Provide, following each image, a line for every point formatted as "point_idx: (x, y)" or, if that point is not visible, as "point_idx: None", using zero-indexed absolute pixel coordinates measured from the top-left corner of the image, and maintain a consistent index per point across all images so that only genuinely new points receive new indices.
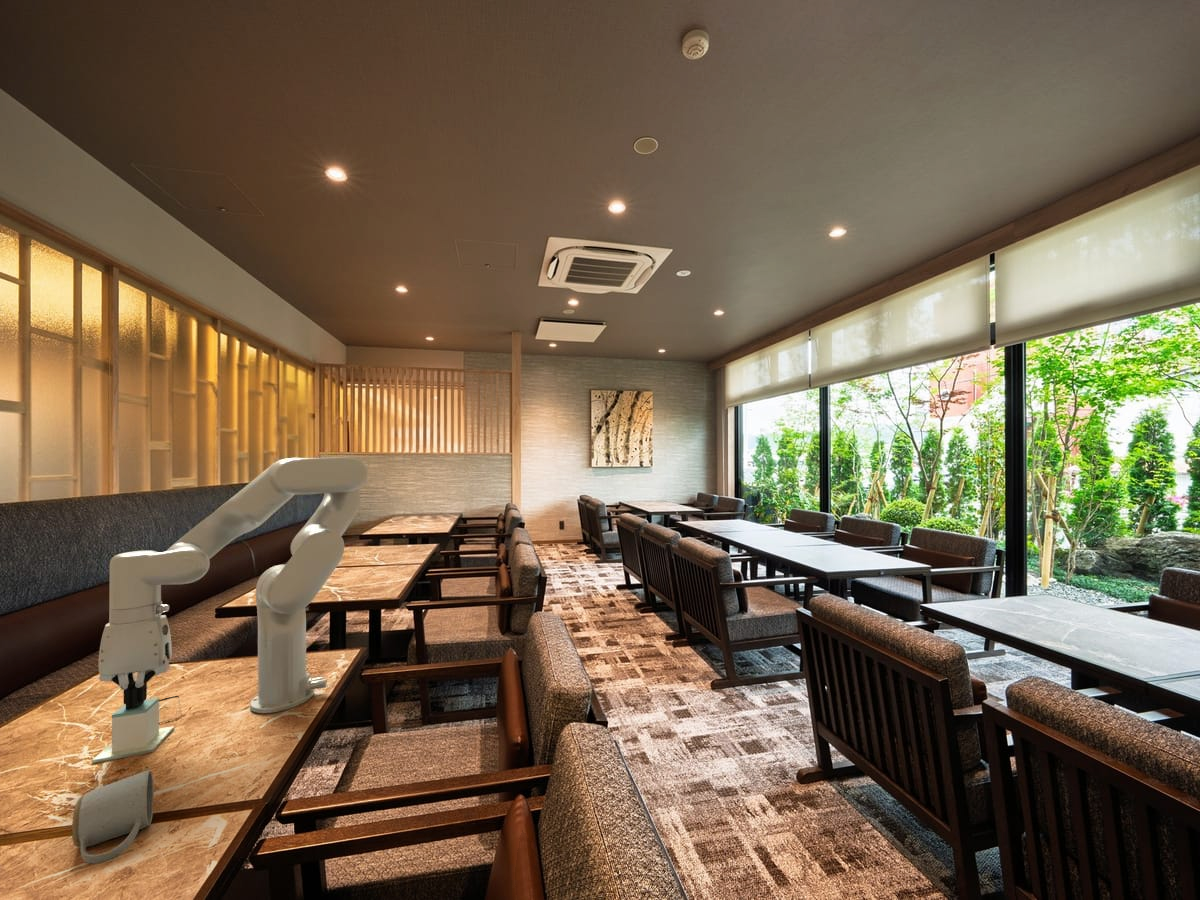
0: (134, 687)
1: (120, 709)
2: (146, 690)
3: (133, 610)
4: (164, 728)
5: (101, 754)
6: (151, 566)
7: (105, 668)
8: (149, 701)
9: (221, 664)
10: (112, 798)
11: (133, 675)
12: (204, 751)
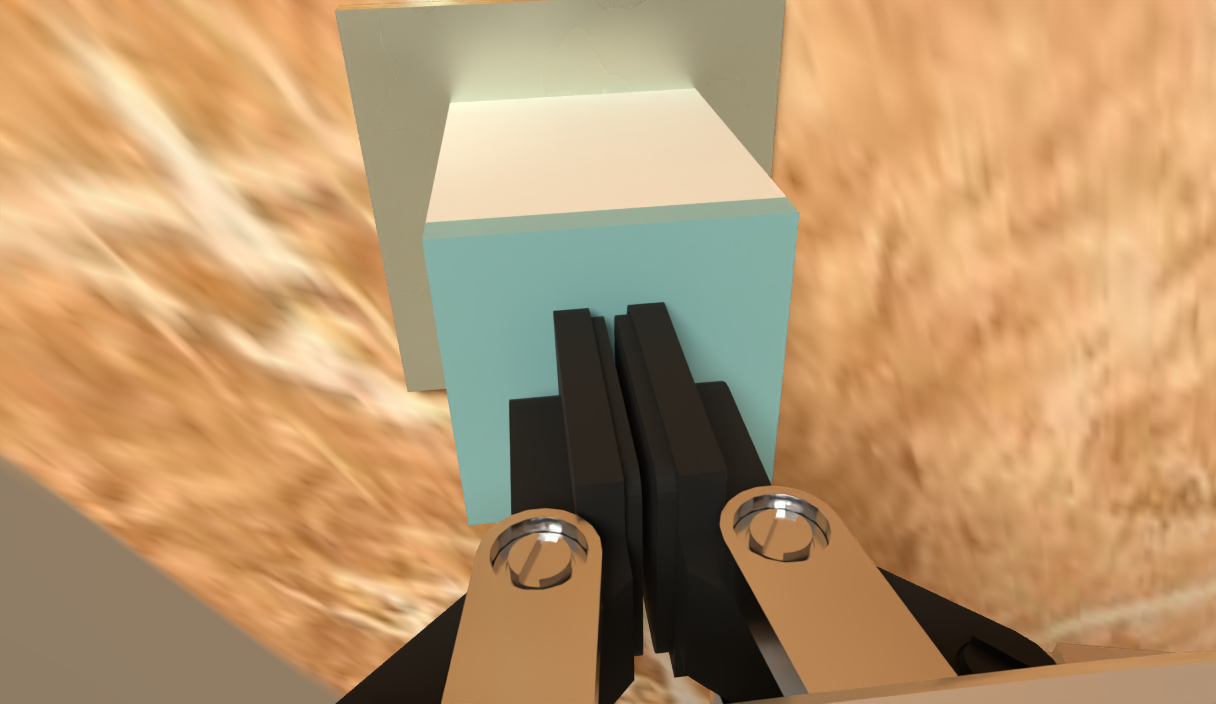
0: (654, 605)
1: (477, 425)
2: (752, 448)
3: None
4: (711, 10)
5: (418, 329)
6: None
7: None
8: (720, 297)
9: None
10: None
11: (595, 667)
12: (1050, 423)
